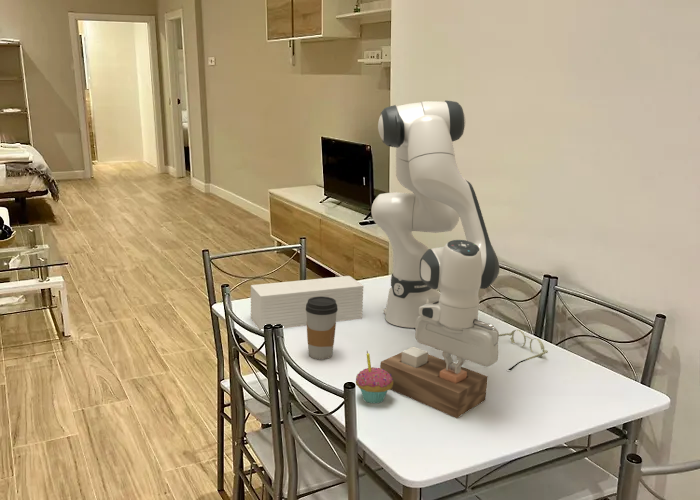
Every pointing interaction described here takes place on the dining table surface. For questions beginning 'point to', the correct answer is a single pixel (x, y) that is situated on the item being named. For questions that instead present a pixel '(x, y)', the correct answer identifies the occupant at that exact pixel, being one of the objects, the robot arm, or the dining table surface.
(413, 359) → the cream white cube
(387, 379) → the cupcake
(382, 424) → the dining table surface
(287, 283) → the stack of papers
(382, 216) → the robot arm
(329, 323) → the coffee cup
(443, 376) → the terracotta key
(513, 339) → the round eyeglasses
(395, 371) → the walnut key panel
